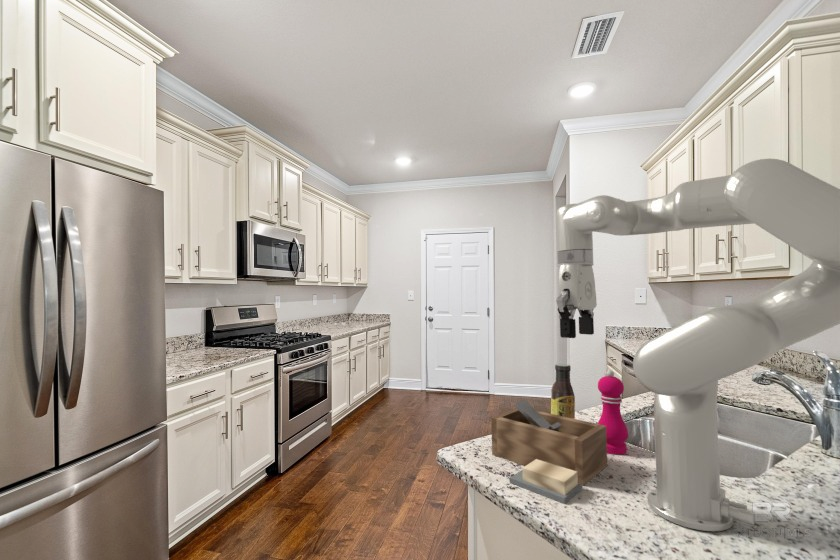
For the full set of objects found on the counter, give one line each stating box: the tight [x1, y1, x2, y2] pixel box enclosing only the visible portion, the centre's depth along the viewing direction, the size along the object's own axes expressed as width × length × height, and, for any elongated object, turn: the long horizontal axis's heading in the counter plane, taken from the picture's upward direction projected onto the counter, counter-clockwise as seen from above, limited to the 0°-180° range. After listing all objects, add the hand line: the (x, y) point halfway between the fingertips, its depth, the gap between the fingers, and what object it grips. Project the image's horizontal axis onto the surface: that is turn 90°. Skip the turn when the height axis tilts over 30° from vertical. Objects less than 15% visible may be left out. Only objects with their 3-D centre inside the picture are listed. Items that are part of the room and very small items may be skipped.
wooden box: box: [490, 407, 608, 486], centre depth 93 cm, size 23×13×9 cm, turn 44°
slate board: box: [508, 469, 584, 504], centre depth 80 cm, size 12×8×1 cm, turn 44°
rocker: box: [513, 399, 561, 432], centre depth 92 cm, size 18×6×4 cm
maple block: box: [521, 459, 578, 495], centre depth 79 cm, size 9×6×2 cm, turn 46°
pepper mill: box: [597, 369, 629, 456], centre depth 98 cm, size 7×7×20 cm
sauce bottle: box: [550, 363, 576, 419], centre depth 108 cm, size 6×6×20 cm
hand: (577, 335), depth 87 cm, fingers open, 9 cm apart
